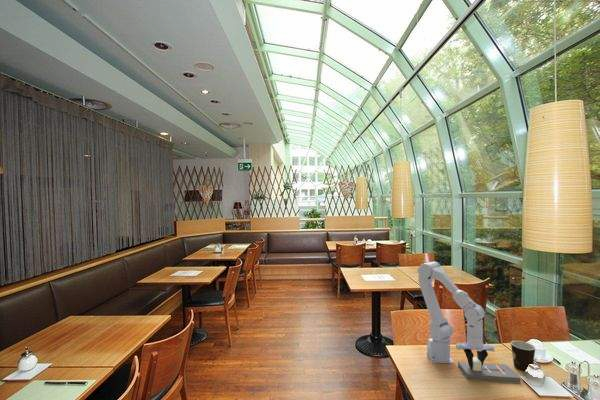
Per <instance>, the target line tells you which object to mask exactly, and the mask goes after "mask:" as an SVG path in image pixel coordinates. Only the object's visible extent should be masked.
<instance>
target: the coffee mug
mask: <svg viewBox="0 0 600 400" xmlns="http://www.w3.org/2000/svg"><path fill="white" fill-rule="evenodd" d="M510 345H511V346H510V347H511V348H510V349H511V355H512V359H513V360H512V361H513V366H514V367H513V368H515V369H516V370H518V371H520V372H523V373H526V372H525V370H526V369H527V367H528V365H529V364H533V365H534V361H535V360H534V359H535V353H536V346H534V345H533V344H531V343H529V342H526V341H523V340H522V341H521V340H512V341H511V342H510Z"/></svg>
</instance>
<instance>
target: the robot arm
mask: <svg viewBox="0 0 600 400" xmlns="http://www.w3.org/2000/svg"><path fill="white" fill-rule="evenodd" d="M417 272H418V284H419V287H420V289H421V293H422V296H423V299H424V302H425V304H426V308H427V312H428V314H429V316H430V321H429V322H428V326H429V335H430V337H431V338H427V341H426V345H427V346H426V350H427V352H426V355H427V357H428V358H429V359H430V361H431V363H442V364H454V363H455V362H454V360H453V359H452V358H451V337H452V335H453V334H454V333H453V332H454V330H453V327H452V326H451V325H450V323H449V320H447V318H446V317H444V316H443V314H442V309H441V306H440V303H439V301H438V298H437V294H436V293H435V288H434V287H433V284H432V282H433V281H434V280H437V281H439V282H440V283H441V284H442V285H443V286H444V287H445V288H446V289H447V290H448V291H449V292H450V293H451V294H452V299H453V300H454V301H455V303H456V304H457V305H458V306H459V307H460V308H461V310H462V311H463V315H464V318H465V319H466V322H467V323H466V336H467V337H466V338H467V339H466V340H467V342H459V343H458V342H456V344H455V348H456V350H458V351H461V350H463V352H464V354H465V356H466V359H467V362H468V363H469V366H470V368H473V357H474V356H475V354H474V353H473V351H476V355H477V356H476V357H477V358H478V359H479V360H480V361H481V369H482V365H483V363H484V362H485V360H486V359H487V357H488V355H489V353H488V352H489V351H490V352H493V353H494V352H495V346H494V345H493V344H486V343H484V341H483V340H484V335H483V334H484V330H483V329H484V328H483V327H484V325H483V323H484V322H483V318H485V316H486V311H485V309H484V307H483V306H482V305H479V304H478V303H476V302H474V300H473V299H472V298H471V297H470V296H469V293H468V292H466V291H464V290H461V289H459V287H458V286H457V285H456V284H455V283H454V281H453V280H452V279H451V278H450V277H449V275H448V274H447V273H446V271H445V269H444V267H443V266H441V264H440V262H438V261H431V262H427V263H426V262H425V263H421V264H420V265H419V266H418V268H417ZM487 351H488V352H487Z"/></svg>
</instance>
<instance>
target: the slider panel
mask: <svg viewBox="0 0 600 400" xmlns="http://www.w3.org/2000/svg"><path fill="white" fill-rule="evenodd" d="M457 364H458V365H457V368H459V369H460V371H461V372H462V374H463V375H464V377H466V379H467V380H469V381H484V382H486V381H487V382H500V383H501V382H502V383H515V384H517V383H518V384H519V383H522V382H521V380H522V379H521V378H522V377H521V376H520V375H519V374H517V373H516V372H515V371H514V370H513V369H512V368H511V367H510V366H509V365H508V364H505V363H504V364H503V363H501V364H500V363H488V362H487V363H484V362H483V365H482V369H481V371H474V370H473V369H472V368H470V366H469V363H468V361H458V362H457Z"/></svg>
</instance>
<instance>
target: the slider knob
mask: <svg viewBox="0 0 600 400" xmlns="http://www.w3.org/2000/svg"><path fill="white" fill-rule="evenodd" d="M472 369H473V370H474V371H481V361H480V360H479V359H478V356H473V368H472Z"/></svg>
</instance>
